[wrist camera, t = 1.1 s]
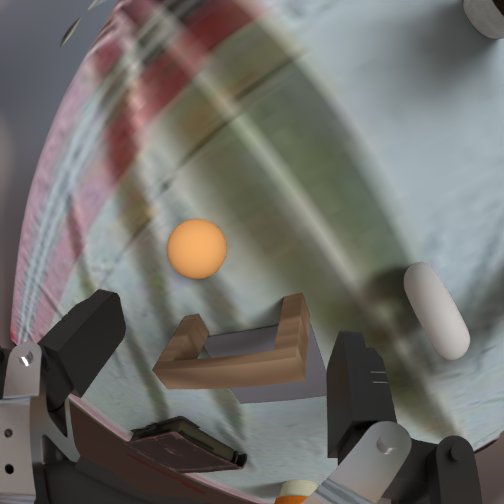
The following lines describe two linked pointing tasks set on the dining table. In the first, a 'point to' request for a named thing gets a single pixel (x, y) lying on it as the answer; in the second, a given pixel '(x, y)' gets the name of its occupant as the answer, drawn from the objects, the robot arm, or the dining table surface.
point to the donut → (436, 311)
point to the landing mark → (261, 343)
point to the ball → (196, 248)
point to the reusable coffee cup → (295, 491)
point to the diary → (184, 447)
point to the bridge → (239, 366)
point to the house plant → (486, 16)
